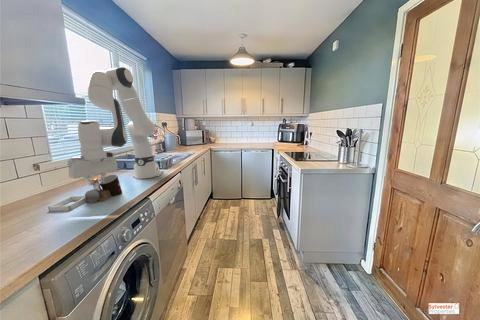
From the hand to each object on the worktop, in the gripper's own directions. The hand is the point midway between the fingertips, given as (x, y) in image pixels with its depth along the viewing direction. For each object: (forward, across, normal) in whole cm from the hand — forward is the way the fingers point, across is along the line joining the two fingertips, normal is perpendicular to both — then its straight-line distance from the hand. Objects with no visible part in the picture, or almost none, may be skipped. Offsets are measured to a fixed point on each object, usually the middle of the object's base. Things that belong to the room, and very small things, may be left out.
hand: (96, 183), depth 101 cm
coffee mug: (+8, +10, +1) cm, 13 cm away
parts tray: (+9, -9, +6) cm, 14 cm away
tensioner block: (+9, +1, +1) cm, 9 cm away
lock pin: (+8, +1, +1) cm, 8 cm away
